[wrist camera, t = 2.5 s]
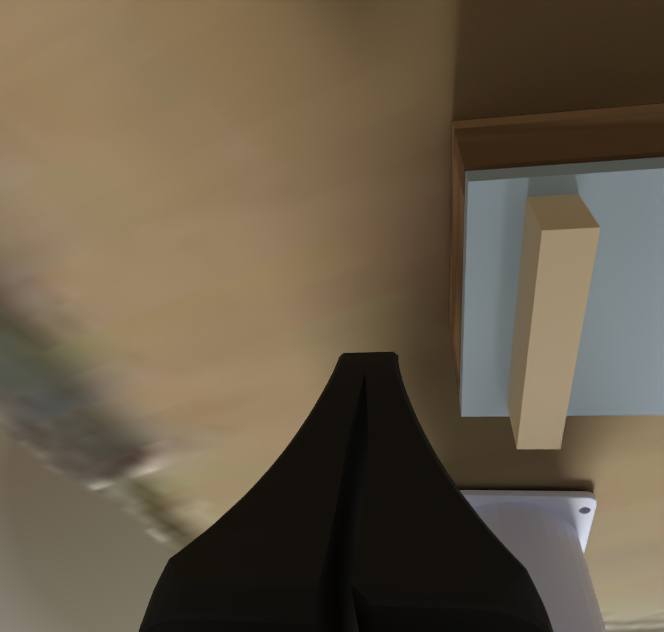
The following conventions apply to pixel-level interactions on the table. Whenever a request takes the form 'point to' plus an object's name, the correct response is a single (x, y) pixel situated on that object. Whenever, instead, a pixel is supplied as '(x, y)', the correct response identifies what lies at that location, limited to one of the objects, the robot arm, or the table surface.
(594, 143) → the pencil box
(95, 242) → the table surface
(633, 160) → the lid
